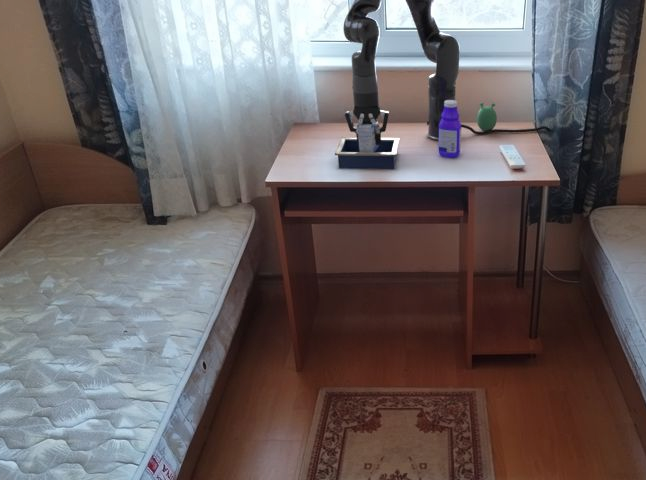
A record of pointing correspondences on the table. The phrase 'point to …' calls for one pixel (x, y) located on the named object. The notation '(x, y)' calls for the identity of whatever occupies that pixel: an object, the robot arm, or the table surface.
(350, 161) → the rectangular frame
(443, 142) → the bottle
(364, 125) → the medicine box
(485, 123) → the alien toy
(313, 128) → the table surface
